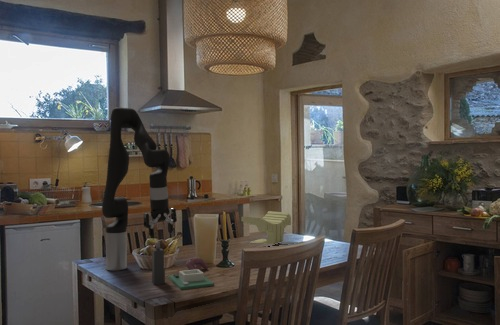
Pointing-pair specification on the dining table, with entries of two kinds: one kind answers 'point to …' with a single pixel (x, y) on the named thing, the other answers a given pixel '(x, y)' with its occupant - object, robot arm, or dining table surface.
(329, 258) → the dining table surface
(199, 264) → the video game controller
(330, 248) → the dining table surface
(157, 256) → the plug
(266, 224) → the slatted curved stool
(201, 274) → the circuit board
